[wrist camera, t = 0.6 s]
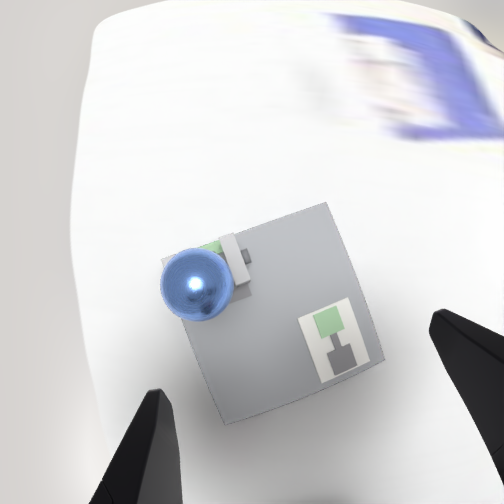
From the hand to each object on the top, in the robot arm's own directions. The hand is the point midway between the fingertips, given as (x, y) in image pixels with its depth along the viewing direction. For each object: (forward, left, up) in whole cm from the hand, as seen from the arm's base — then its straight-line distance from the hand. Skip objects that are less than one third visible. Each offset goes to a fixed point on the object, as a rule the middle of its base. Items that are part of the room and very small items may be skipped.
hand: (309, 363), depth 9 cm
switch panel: (+1, -1, -14) cm, 14 cm away
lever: (+5, +2, -12) cm, 13 cm away
